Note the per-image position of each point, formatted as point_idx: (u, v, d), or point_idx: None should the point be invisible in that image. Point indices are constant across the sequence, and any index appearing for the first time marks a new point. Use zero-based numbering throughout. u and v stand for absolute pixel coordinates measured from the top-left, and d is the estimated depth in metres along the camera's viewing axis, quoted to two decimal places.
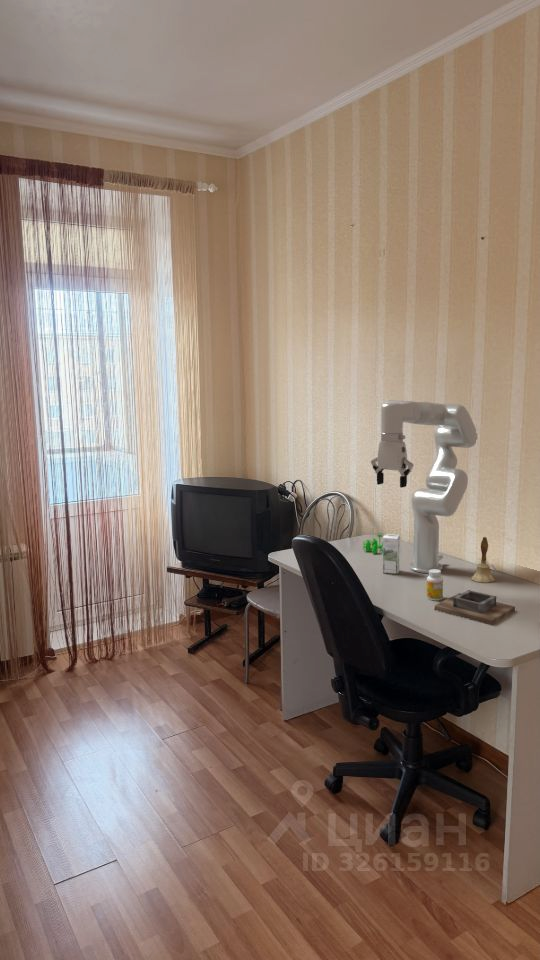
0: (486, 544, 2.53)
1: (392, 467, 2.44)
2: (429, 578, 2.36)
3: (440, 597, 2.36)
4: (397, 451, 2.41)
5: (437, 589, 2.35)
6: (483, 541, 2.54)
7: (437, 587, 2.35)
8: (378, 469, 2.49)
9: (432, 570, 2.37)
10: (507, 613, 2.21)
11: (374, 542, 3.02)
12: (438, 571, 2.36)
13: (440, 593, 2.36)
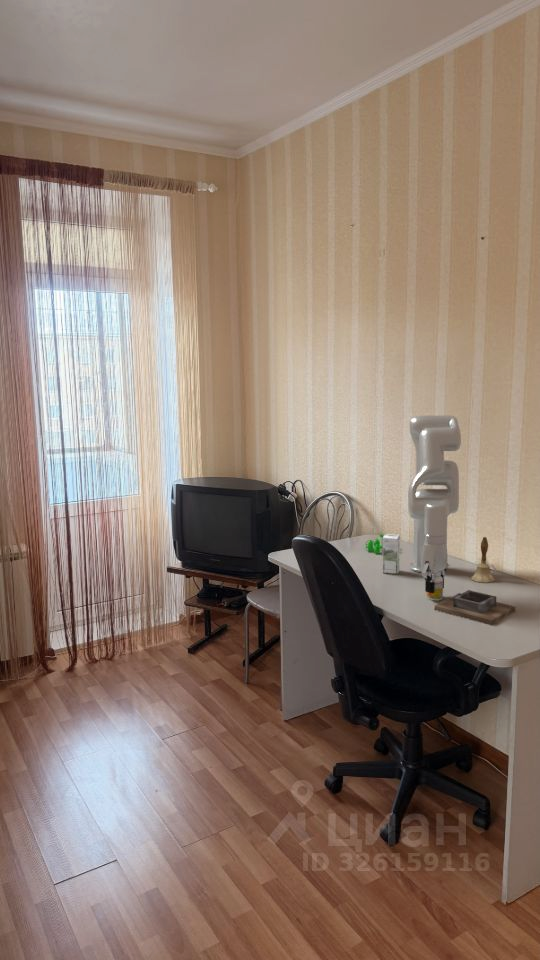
0: (486, 544, 2.53)
1: (443, 567, 2.36)
2: None
3: (440, 597, 2.36)
4: (446, 549, 2.37)
5: (437, 589, 2.35)
6: (483, 541, 2.54)
7: (437, 587, 2.35)
8: (433, 577, 2.34)
9: None
10: (507, 613, 2.21)
11: (376, 542, 3.02)
12: None
13: (440, 593, 2.36)
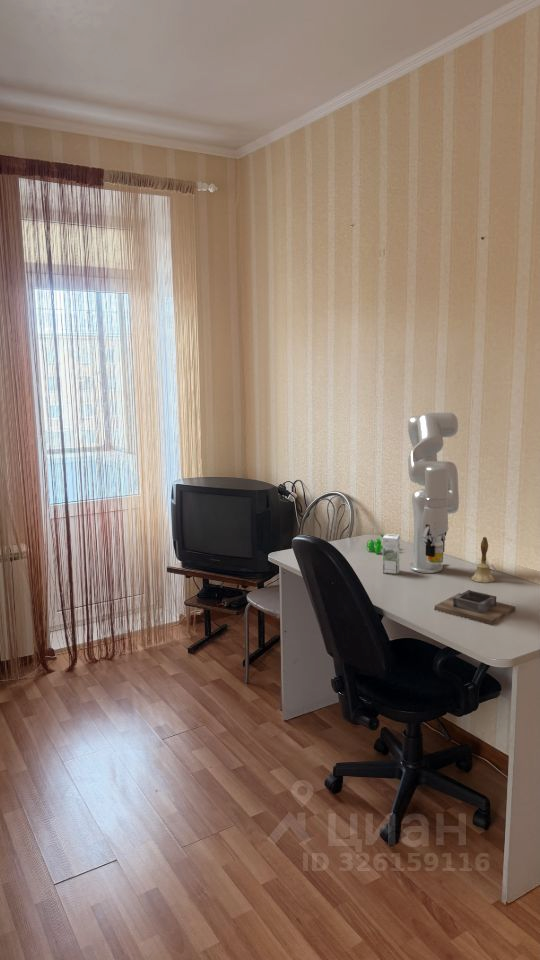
0: (486, 544, 2.53)
1: (443, 531, 2.34)
2: None
3: (440, 561, 2.34)
4: (447, 513, 2.35)
5: (438, 553, 2.33)
6: (483, 541, 2.54)
7: (437, 551, 2.33)
8: None
9: None
10: (507, 613, 2.21)
11: (378, 542, 3.02)
12: (439, 535, 2.34)
13: (440, 557, 2.34)
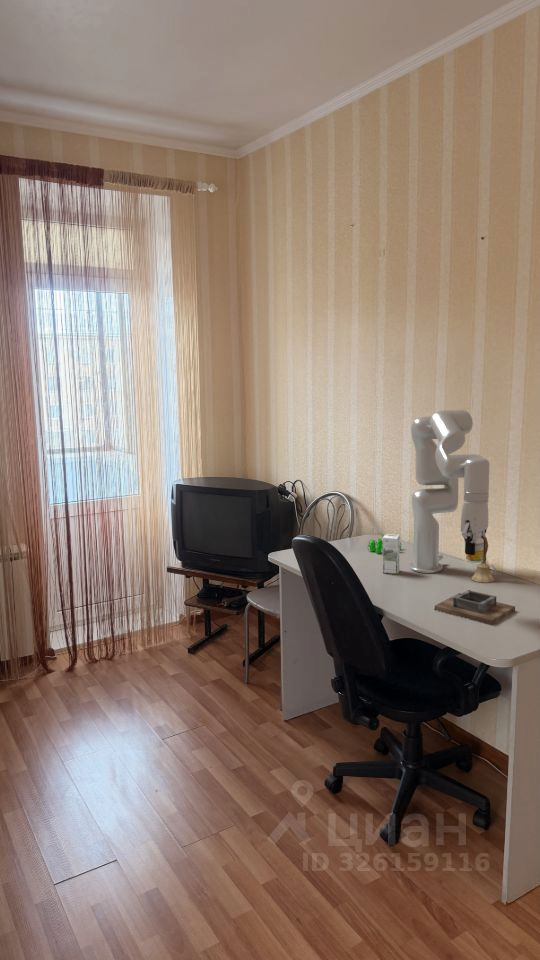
0: (486, 544, 2.53)
1: (484, 528, 2.21)
2: None
3: (481, 559, 2.21)
4: (487, 509, 2.22)
5: (478, 551, 2.20)
6: None
7: (477, 549, 2.20)
8: (474, 538, 2.19)
9: None
10: (507, 613, 2.21)
11: (379, 542, 3.02)
12: (479, 532, 2.21)
13: (481, 555, 2.21)
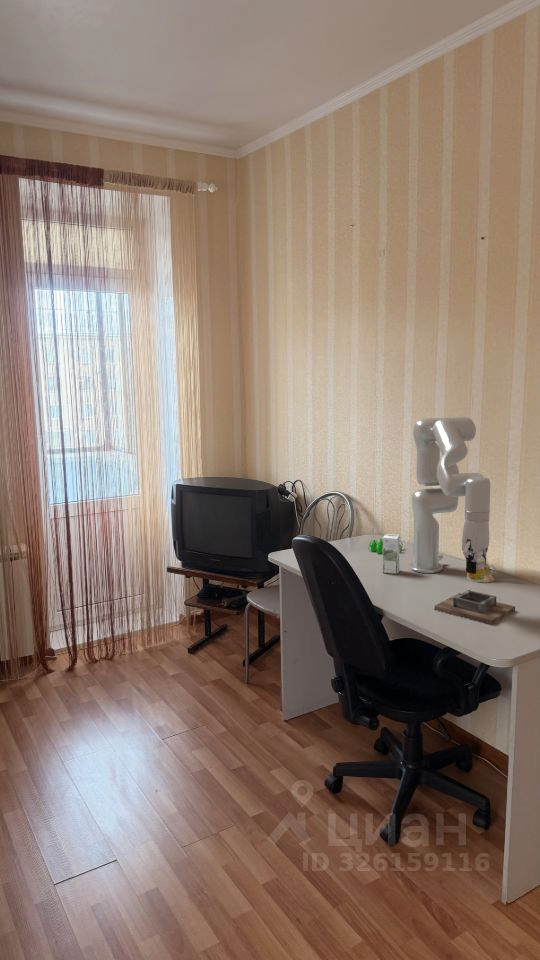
0: None
1: (485, 546, 2.22)
2: None
3: (482, 578, 2.22)
4: (488, 527, 2.22)
5: (479, 569, 2.21)
6: None
7: (479, 567, 2.20)
8: (475, 556, 2.19)
9: None
10: (507, 613, 2.21)
11: (380, 542, 3.02)
12: None
13: (482, 574, 2.21)
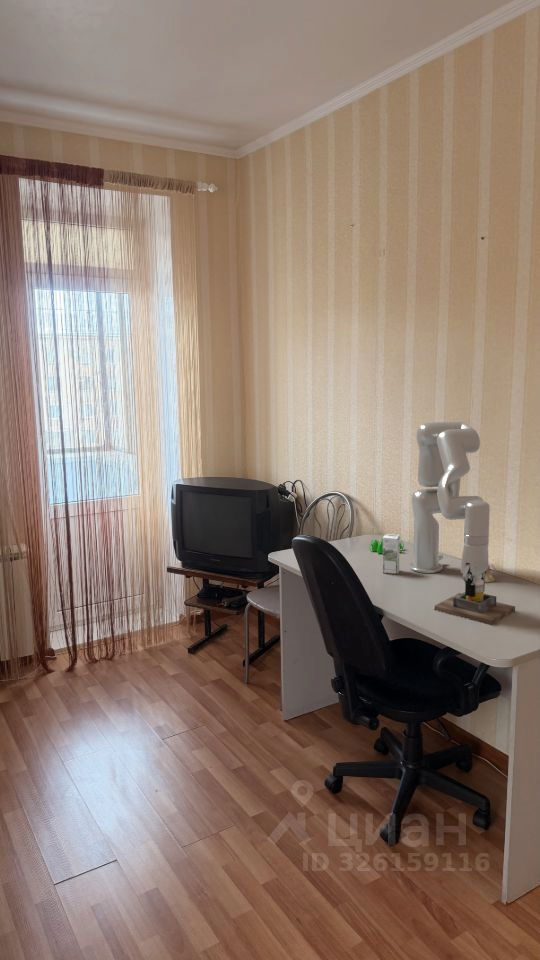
0: None
1: (484, 570, 2.23)
2: None
3: (481, 601, 2.23)
4: (487, 551, 2.24)
5: (478, 593, 2.22)
6: None
7: (478, 591, 2.22)
8: (474, 580, 2.21)
9: None
10: (507, 613, 2.21)
11: (382, 542, 3.02)
12: None
13: (481, 597, 2.23)
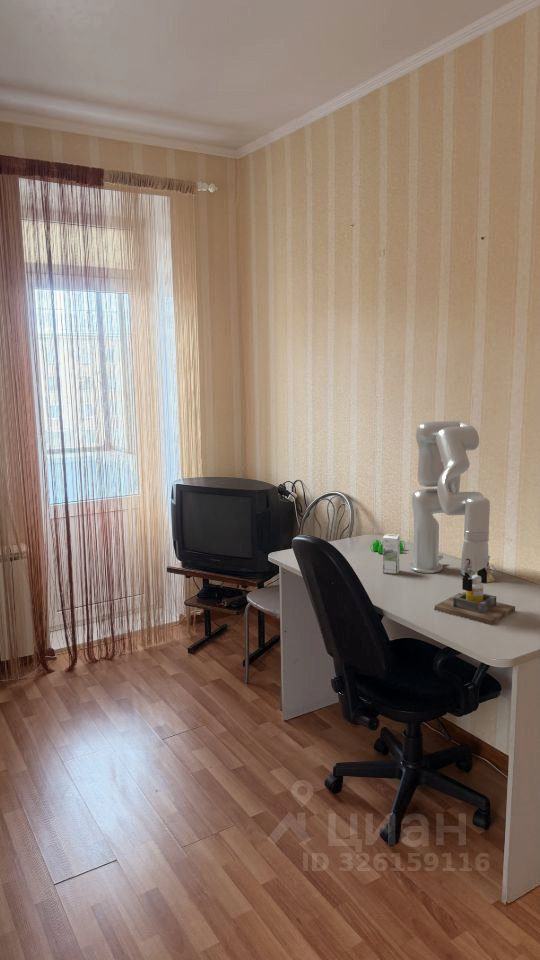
0: None
1: (484, 565, 2.23)
2: None
3: None
4: (487, 547, 2.24)
5: (478, 596, 2.23)
6: None
7: (477, 594, 2.22)
8: (471, 574, 2.19)
9: None
10: (507, 613, 2.21)
11: None
12: (478, 577, 2.24)
13: (480, 600, 2.23)
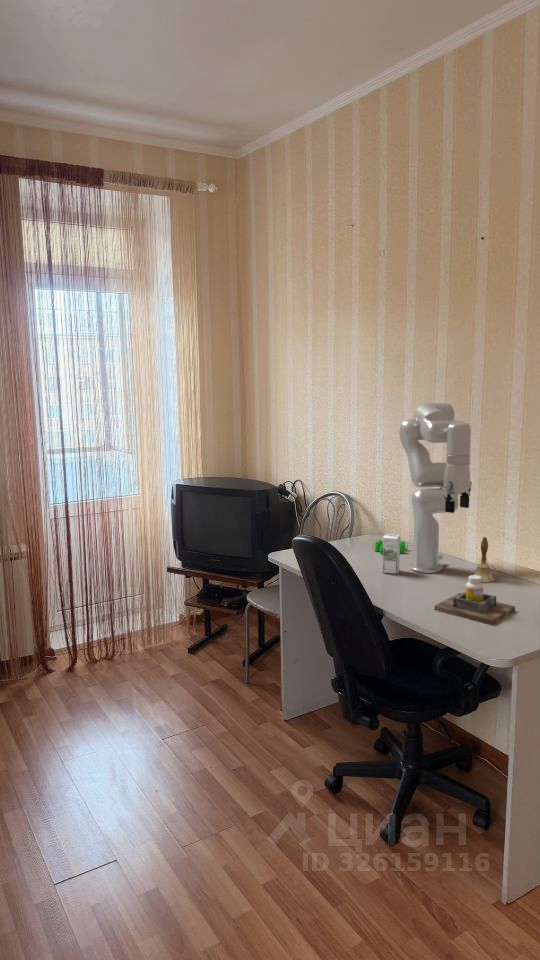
0: (486, 544, 2.53)
1: (465, 489, 2.34)
2: (469, 584, 2.24)
3: None
4: (469, 471, 2.34)
5: (477, 596, 2.23)
6: (483, 541, 2.54)
7: (477, 594, 2.22)
8: (454, 496, 2.30)
9: (471, 576, 2.24)
10: (507, 613, 2.21)
11: None
12: (478, 577, 2.23)
13: (480, 600, 2.23)
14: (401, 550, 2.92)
